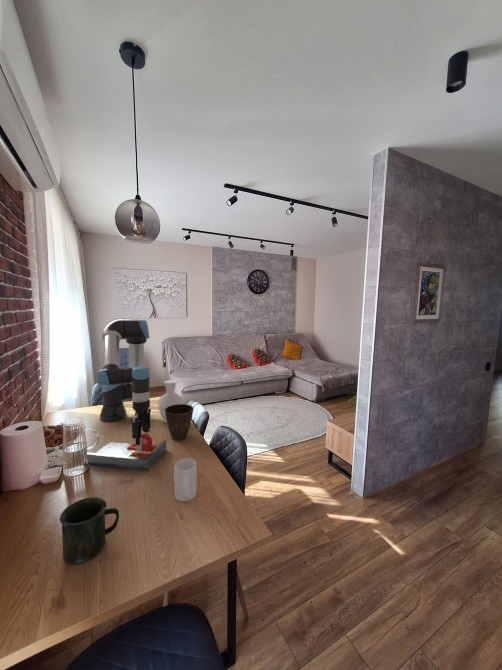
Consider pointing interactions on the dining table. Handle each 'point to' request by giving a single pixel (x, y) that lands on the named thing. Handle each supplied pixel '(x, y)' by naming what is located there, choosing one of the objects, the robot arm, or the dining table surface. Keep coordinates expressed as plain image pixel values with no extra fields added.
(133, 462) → the tray
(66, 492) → the dining table surface
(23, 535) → the dining table surface
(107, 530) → the mug
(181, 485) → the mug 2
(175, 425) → the plant pot
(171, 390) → the vase
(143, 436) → the bracket
